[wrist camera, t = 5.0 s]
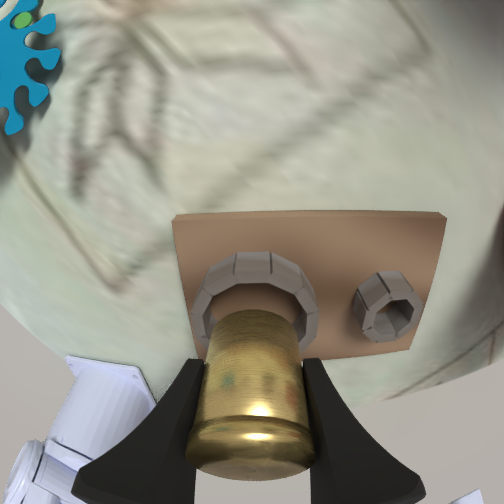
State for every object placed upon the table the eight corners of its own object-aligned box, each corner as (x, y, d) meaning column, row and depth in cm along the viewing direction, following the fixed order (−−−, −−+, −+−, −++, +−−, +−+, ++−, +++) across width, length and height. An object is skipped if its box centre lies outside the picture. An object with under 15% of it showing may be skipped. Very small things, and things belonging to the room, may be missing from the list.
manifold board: (404, 340, 18) (418, 368, 16) (201, 351, 19) (194, 384, 16) (438, 212, 14) (466, 231, 11) (177, 214, 15) (159, 237, 12)
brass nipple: (300, 368, 13) (311, 477, 8) (217, 373, 14) (202, 479, 8) (299, 303, 12) (320, 433, 6) (199, 310, 12) (167, 435, 6)
